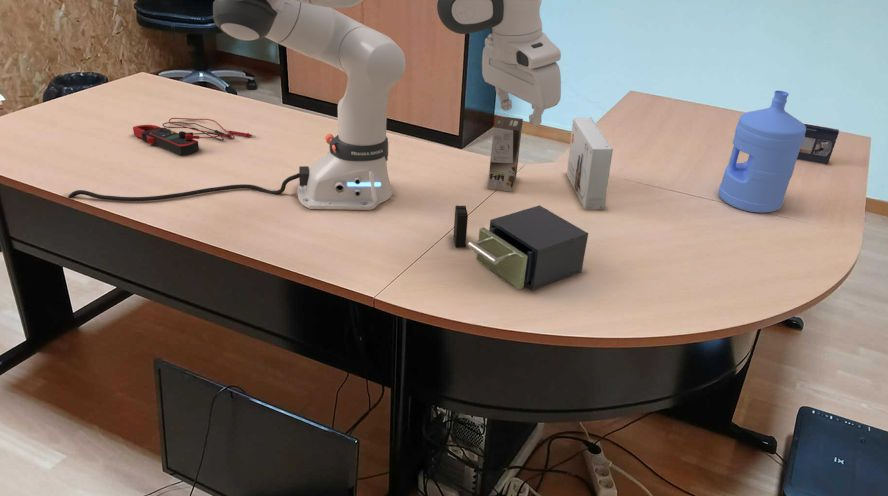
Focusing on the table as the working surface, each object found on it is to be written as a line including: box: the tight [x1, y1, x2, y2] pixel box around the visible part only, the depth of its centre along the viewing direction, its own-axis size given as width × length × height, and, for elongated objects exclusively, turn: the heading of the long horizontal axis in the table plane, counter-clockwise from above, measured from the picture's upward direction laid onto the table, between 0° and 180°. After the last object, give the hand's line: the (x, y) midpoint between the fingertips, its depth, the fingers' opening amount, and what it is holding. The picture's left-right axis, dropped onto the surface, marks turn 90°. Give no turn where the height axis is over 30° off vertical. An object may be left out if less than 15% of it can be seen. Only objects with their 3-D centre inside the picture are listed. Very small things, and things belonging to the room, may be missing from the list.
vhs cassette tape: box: [797, 123, 840, 165], centre depth 213 cm, size 18×3×10 cm, turn 68°
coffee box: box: [487, 116, 524, 193], centre depth 183 cm, size 9×6×16 cm
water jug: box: [718, 90, 806, 214], centre depth 180 cm, size 16×16×28 cm
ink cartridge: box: [452, 204, 469, 248], centre depth 157 cm, size 5×2×8 cm, turn 5°
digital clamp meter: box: [132, 117, 257, 157], centre depth 199 cm, size 23×4×25 cm
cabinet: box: [488, 205, 589, 291], centre depth 150 cm, size 14×15×9 cm
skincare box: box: [566, 116, 614, 211], centre depth 182 cm, size 21×5×16 cm, turn 5°
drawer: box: [467, 227, 535, 290], centre depth 147 cm, size 17×13×7 cm
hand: (520, 116), depth 140 cm, fingers open, 8 cm apart
